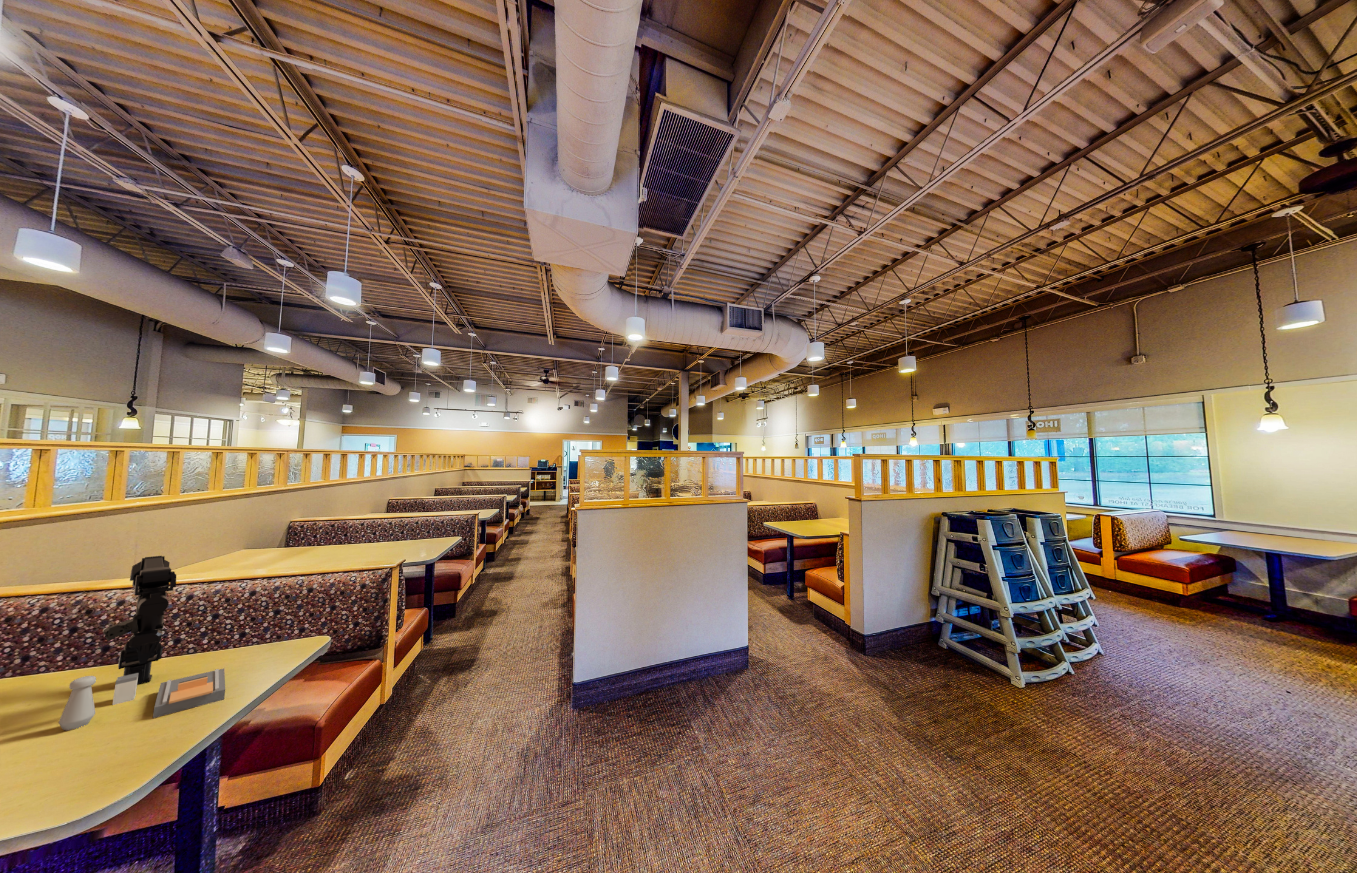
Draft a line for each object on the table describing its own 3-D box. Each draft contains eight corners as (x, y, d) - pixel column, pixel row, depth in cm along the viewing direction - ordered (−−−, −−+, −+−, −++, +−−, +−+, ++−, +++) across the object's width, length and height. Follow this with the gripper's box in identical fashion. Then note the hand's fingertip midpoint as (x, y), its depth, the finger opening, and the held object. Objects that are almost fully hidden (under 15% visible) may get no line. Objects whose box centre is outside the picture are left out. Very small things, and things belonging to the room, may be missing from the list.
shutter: (170, 693, 126) (172, 685, 127) (212, 683, 133) (213, 675, 133) (168, 703, 121) (170, 694, 121) (212, 692, 127) (213, 683, 127)
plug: (114, 700, 129) (117, 677, 129) (135, 695, 132) (138, 672, 132) (112, 705, 126) (115, 681, 127) (133, 699, 129) (137, 676, 130)
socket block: (159, 692, 133) (161, 680, 134) (223, 677, 144) (224, 666, 144) (152, 718, 119) (154, 705, 119) (224, 699, 129) (225, 687, 130)
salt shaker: (65, 733, 112) (73, 683, 113) (51, 731, 113) (59, 681, 114) (99, 721, 117) (106, 674, 119) (85, 719, 119) (93, 672, 120)
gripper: (112, 608, 132) (104, 658, 131) (104, 622, 120) (96, 678, 119) (167, 600, 141) (160, 647, 139) (164, 613, 129) (157, 665, 127)
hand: (143, 659), depth 131 cm, fingers open, 9 cm apart
